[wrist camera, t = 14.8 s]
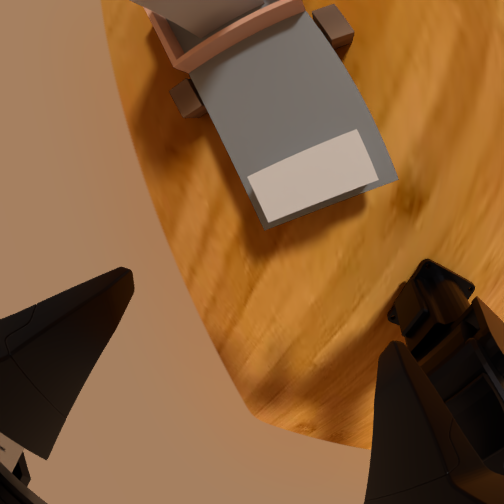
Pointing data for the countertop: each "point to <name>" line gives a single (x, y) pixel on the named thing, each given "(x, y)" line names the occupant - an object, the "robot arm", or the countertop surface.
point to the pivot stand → (324, 18)
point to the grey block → (199, 12)
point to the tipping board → (282, 109)
